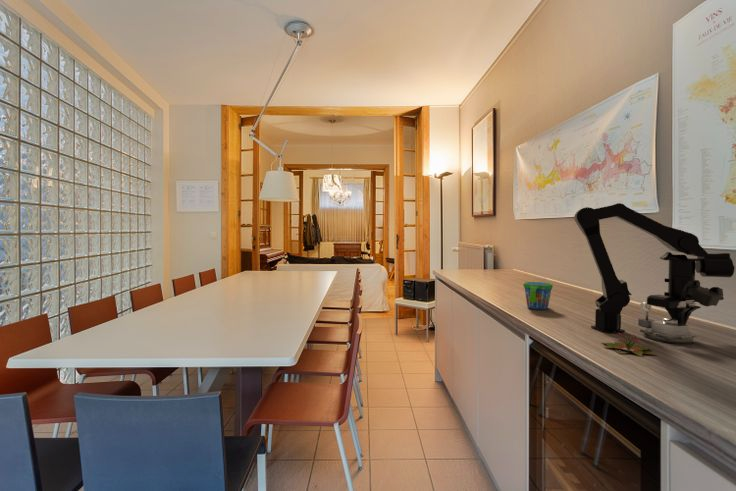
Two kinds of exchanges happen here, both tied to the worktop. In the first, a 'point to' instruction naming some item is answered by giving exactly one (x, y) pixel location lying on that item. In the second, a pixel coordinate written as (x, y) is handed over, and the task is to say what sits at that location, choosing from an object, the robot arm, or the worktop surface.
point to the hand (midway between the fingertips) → (680, 329)
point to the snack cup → (537, 294)
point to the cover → (670, 327)
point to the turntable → (668, 337)
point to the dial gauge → (645, 321)
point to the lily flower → (629, 346)
